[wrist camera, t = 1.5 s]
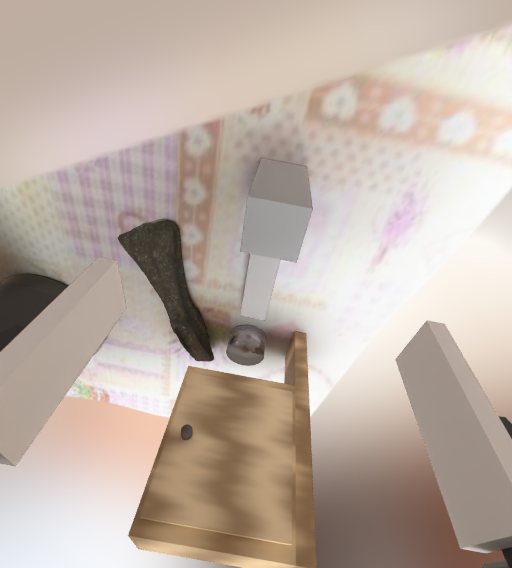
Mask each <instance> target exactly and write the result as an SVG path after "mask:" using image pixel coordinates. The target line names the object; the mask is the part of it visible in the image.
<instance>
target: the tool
mask: <svg viewBox="0 0 512 568" xmlns="http://www.w3.org/2000/svg"><path fill="white" fill-rule="evenodd" d="M118 240H119V242H120V243H121V245H122V246H123V247H124V248H125V250H126V251H127V252H128V254H129V255H130V256H131V257H132V258H133V259H134V261H135V262H136V263H137V264H138V266H139V267H140V268H141V270H142V271H143V272H144V273H145V275H146V276H147V278H148V280H149V281H150V283H151V285H152V286H153V287H154V289H155V291H156V292H157V293H158V295H159V297H160V298H161V300H162V302H163V303H164V306H165V308H166V310H167V313H168V316H169V318H170V323H171V327H172V329H173V331H174V333H175V334H176V335H177V336H178V338H179V340H180V342H181V344H182V345H183V346H184V348H185V349H186V351H188V352H189V353H190V355H191V356H192V357H193V358H194V359H195V360H196V361H212V360H214V356H213V352H212V348H211V347H210V342H209V336H208V334H207V332H206V327H205V326H204V323H203V319H202V317H201V315H200V313H199V311H198V310H197V308H195V307H194V306H193V304H192V303H191V302H190V299H189V296H188V294H187V290H186V287H185V280H184V272H183V266H182V256H181V243H180V241H181V239H180V234H179V228H178V226H177V225H175V223H174V222H170V221H169V220H167V219H162V220H156V221H153V222H149V223H144V224H142V225H140V226H138V227H136V228H134V229H132V230H131V231H129V232H126V233H124V234H121V235H119V237H118Z"/></svg>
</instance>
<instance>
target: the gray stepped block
mask: <svg viewBox="0 0 512 568" xmlns="http://www.w3.org/2000/svg"><path fill="white" fill-rule="evenodd" d="M312 210H313V207H312V200H311V192H310V185H309V178H308V170H307V167H306V166H301V165H295V164H290V163H285V162H280V161H275V160H270V159H265V158H261V161H260V164H259V166H258V169H257V172H256V175H255V178H254V180H253V183H252V186H251V189H250V192H249V194H248V199H247V206H246V213H245V220H244V228H243V235H242V242H241V249H240V252H243V253H249V254H250V259H249V265H248V271H247V277H246V283H245V289H244V295H243V301H242V307H241V313H240V316H243V317H248V318H254V319H259V320H264V321H265V319H266V315H267V311H268V307H269V303H270V299H271V295H272V291H273V287H274V283H275V279H276V275H277V271H278V267H279V263H280V260H286V261H291V262H296V263H297V259H298V256H299V253H300V249H301V246H302V243H303V239H304V236H305V233H306V230H307V226H308V223H309V220H310V216H311V213H312Z"/></svg>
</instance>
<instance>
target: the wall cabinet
mask: <svg viewBox="0 0 512 568" xmlns="http://www.w3.org/2000/svg"><path fill="white" fill-rule="evenodd" d="M314 521H315V520H314V499H313V476H312V453H311V431H310V408H309V386H308V364H307V341H306V333H301V332H296V331H295V333H294V336H293V338H292V341H291V344H290V347H289V349H288V352H287V355H286V357H285V383H284V384H283V383H278V382H272V381H267V380H261V379H256V378H251V377H245V376H240V375H235V374H229V373H224V372H219V371H213V370H208V369H202V368H197V367H192V366H188V368H187V371H186V374H185V377H184V380H183V383H182V385H181V388H180V391H179V394H178V397H177V400H176V402H175V405H174V408H173V411H172V414H171V416H170V419H169V422H168V425H167V428H166V431H165V433H164V436H163V439H162V442H161V445H160V448H159V450H158V453H157V456H156V459H155V462H154V465H153V467H152V470H151V473H150V476H149V478H148V481H147V484H146V487H145V490H144V493H143V495H142V498H141V501H140V504H139V507H138V509H137V512H136V515H135V518H134V521H133V524H132V527H131V529H130V532H129V537H130V538H131V540H132V541H133V543H134V544H135V545H136V547H137V548H138V549H141V550H148V551H153V552H158V553H164V554H169V555H175V556H181V557H186V558H192V559H197V560H203V561H209V562H214V563H220V564H225V565H231V566H236V567H242V568H317V565H316V544H315V522H314Z"/></svg>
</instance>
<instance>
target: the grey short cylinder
mask: <svg viewBox="0 0 512 568" xmlns="http://www.w3.org/2000/svg"><path fill="white" fill-rule="evenodd" d="M265 341H266V337H265V334H264V332H263V331H262V330H260V329H259V328H257V327H255V326H251V325H240V326H237V327H235V328H234V329H233V330H232V331H231V334H230V338H229V342H228V346H227V350H226V353H227V356H228V357H229V358H230V359H231V360H232V361H233V362H235V363H237V364H240V365H247V366H250V365H256V364H258V363H260V362H261V361H262V360H263V358H264V351H265Z"/></svg>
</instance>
